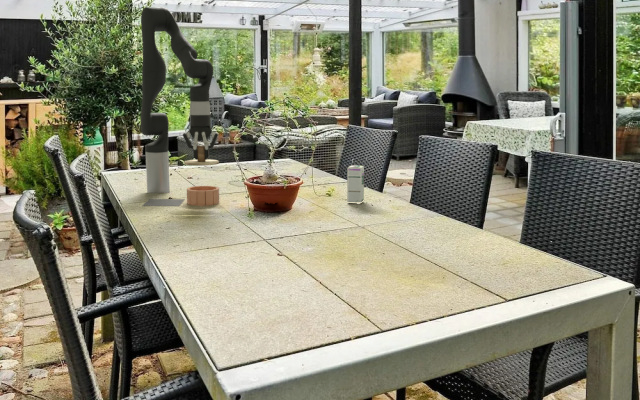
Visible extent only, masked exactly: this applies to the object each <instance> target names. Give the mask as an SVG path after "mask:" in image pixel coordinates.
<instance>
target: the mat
mask: <svg viewBox="0 0 640 400" xmlns="http://www.w3.org/2000/svg"><path fill="white" fill-rule="evenodd" d="M185 200H186V199H185V198H149V199H148V200H147V201H145V202H144V203H143V204H142V205H141V207H180V206H181V205H182V204H183V202H185Z"/></svg>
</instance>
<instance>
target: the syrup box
mask: <svg viewBox="0 0 640 400" xmlns="http://www.w3.org/2000/svg"><path fill="white" fill-rule="evenodd" d="M346 170H347V171H346V172H347V174H346V175H347V178H346V180H347V186H346V188H347V190H346V191H347V192H346V193H347V195H346V196H347V201H346V202H362V201H363V200H364V201H365V194H364V193H365V166H364V165H350V166H348V167H347V169H346Z"/></svg>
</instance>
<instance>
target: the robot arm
mask: <svg viewBox="0 0 640 400" xmlns="http://www.w3.org/2000/svg"><path fill="white" fill-rule="evenodd" d="M140 27H141V38H142V39H141V40H142V67H141V68H142V69H141V73H142V75H141V82H142V84H141V85H142V88H141V89H142V93H141V95H142V96H141V97H142V99H141V111H140V123H139V124H140V132H141V133H142V134H143V136H158V137H157V138H156V139H155V140H154V141H152V142H150V143H147V144H145V148H144V149H145V169H146V171H145V172H146V193H147V194H168V193H170V192H171V191H170V164H169V161H170V159H169V125H170V124H169V117H168V115H167V114H166V113H165V112H152V108H153V104H154V102H155V100H156V99H157V97H158V96H159V94H160V93H161V91H162V90H163V88H164V86H165V85H166V80H167V78H166V77H167V65H166V62H165V60H164V58H163V56H162V55H161V52H160V50H158V47H157V44H156V38H155V37H156V32H165V33H166V34H168V35H169V37H170V49H171V50H172V52H173V54H174V55H175V56H176V58H177V59H178V60H179V61H180V63H181V66H182V69H183V71H184V74H185V75H186V76H187V77H188V78H189V79H193V80H194V79H199V80H198V82H197V84H195V85H194V84H193V85H192V86H190V88H189V97H190V98H189V101H190V102H189V103H190V104H189V118H190V119H189V121H190V126H189V127H190V128H189V131H186V132H184V133H183V134H182V137H183V139H184V141H185V143H186V145H187V146H188V148H189V149H192V150H193V158H194V160H198V158H197V146H198V145H199V141H202V142H203V145H205V160H207V159H209V158H210V149H212V148H214V147H215V145H216V142H217V140H218V139H219V138H218V137H219V135H220V134H219V133H218V132H214V131H213V130H212V126H211V124H212V123H211V104H210V88H211V84H212V79H213V76H214V66H213V64H212V62H211V61H210V60H209V59H202V58H200V59H199V58H198V52H197V51H196V49H195V48H194V46H192V44H191V43H190V42H189V40H188V39H187V38H186V37H185V35H184V34H183V32H182V30H181V28H180V26H179V25H178V23H177V21H176V18H175V17H174V15H173V13H172V12H171V11H170V10H169V9H168V7H167V8H166V7H163V6H162V7H160V6H158V7H157V6H156V7H155V6H146V7H144V8H143V9H142V11H141V16H140ZM210 136H211V137H212V140H211V142H210V145H209V138H210ZM190 137H192V138H193V143H192V141H191V140H190Z"/></svg>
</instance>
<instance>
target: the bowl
mask: <svg viewBox="0 0 640 400" xmlns="http://www.w3.org/2000/svg"><path fill="white" fill-rule="evenodd" d="M186 203H187V204H188V205H190V206H198V207H201V206H202V207H204V206H205V207H208V206H214V205H218V204H220V187H218V186H214V185H194V186H191V187H187V188H186Z"/></svg>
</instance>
